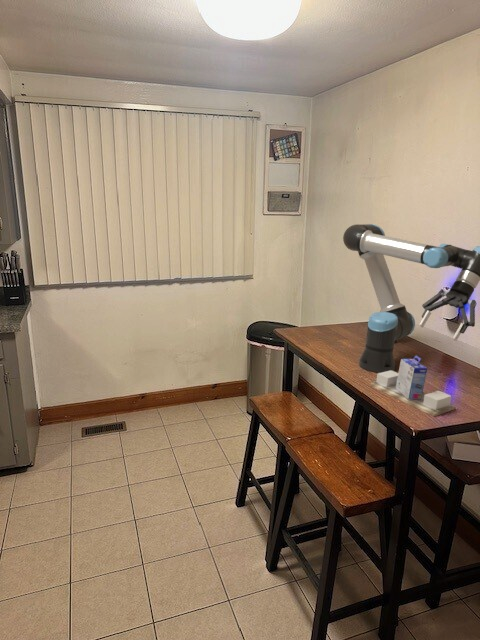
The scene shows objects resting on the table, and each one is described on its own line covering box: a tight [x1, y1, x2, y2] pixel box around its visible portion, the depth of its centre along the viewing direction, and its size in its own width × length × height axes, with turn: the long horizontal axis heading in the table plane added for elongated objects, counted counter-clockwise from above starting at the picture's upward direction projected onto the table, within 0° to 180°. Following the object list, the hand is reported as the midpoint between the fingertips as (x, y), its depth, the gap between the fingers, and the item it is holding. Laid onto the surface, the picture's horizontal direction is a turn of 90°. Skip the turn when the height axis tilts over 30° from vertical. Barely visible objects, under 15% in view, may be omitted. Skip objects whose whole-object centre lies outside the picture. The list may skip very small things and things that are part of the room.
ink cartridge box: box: [396, 354, 428, 399], centre depth 159 cm, size 10×6×14 cm, turn 9°
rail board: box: [369, 379, 456, 417], centre depth 163 cm, size 28×12×2 cm, turn 32°
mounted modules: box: [375, 370, 452, 410], centre depth 162 cm, size 26×8×4 cm, turn 32°
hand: (437, 332), depth 167 cm, fingers open, 13 cm apart
